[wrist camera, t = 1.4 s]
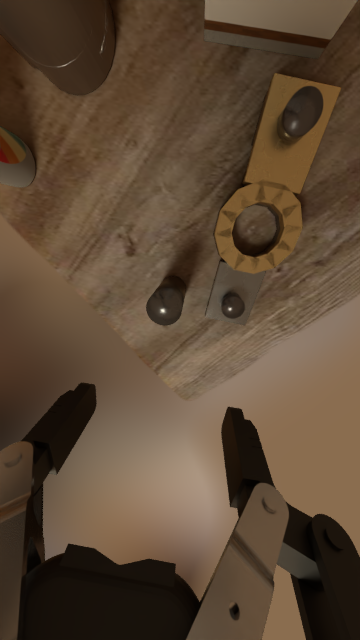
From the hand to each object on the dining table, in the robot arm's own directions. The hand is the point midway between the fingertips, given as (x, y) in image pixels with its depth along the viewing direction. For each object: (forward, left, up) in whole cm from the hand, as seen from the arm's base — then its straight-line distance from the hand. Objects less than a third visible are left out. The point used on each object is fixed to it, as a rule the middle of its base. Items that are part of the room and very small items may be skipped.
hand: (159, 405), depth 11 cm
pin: (-2, +1, -21) cm, 21 cm away
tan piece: (+7, +11, -21) cm, 24 cm away
